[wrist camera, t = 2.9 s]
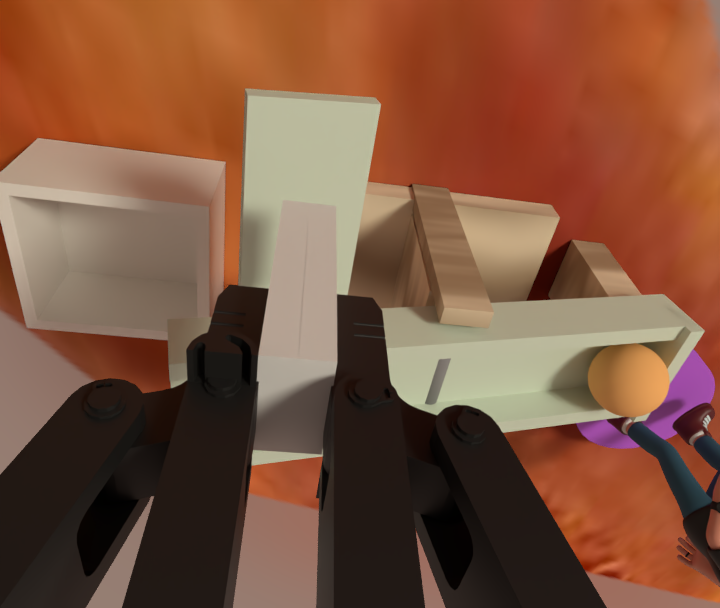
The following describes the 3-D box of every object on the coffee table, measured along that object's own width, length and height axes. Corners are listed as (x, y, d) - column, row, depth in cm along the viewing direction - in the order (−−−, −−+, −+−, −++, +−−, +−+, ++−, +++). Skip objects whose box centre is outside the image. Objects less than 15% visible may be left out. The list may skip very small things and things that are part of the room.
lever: (153, 79, 16) (153, 117, 14) (760, 122, 23) (823, 152, 21) (173, 426, 25) (175, 483, 22) (611, 380, 32) (645, 420, 29)
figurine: (720, 388, 42) (925, 660, 27) (602, 445, 45) (729, 714, 31) (669, 312, 37) (884, 591, 23) (543, 383, 41) (660, 663, 26)
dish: (38, 137, 29) (-10, 181, 25) (225, 161, 30) (209, 206, 26) (63, 273, 33) (26, 327, 29) (223, 289, 35) (209, 344, 31)
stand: (300, 169, 30) (288, 291, 21) (619, 210, 32) (726, 336, 24) (288, 297, 35) (274, 438, 26) (565, 325, 37) (637, 464, 29)
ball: (590, 329, 27) (637, 382, 24) (649, 324, 28) (701, 375, 25) (563, 383, 29) (604, 437, 26) (619, 376, 30) (664, 428, 27)
